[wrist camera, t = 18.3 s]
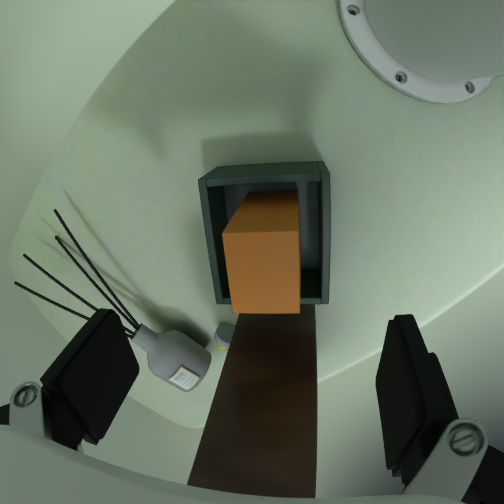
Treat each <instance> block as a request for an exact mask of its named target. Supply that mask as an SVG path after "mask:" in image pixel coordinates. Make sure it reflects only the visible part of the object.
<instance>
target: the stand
mask: <svg viewBox="0 0 504 504" xmlns="http://www.w3.org/2000/svg"><path fill="white" fill-rule="evenodd" d="M316 469H317V346H316V319H315V304H300V313H287V314H265V313H239V316H238V319H237V323H236V326H235V329H234V333H233V336H232V339H231V342H230V346H229V349H228V352H227V356H226V359H225V362H224V366H223V369H222V372H221V375H220V379H219V382H218V385H217V388H216V392H215V395H214V398H213V402H212V405H211V408H210V411H209V415H208V418H207V421H206V424H205V428H204V431H203V434H202V437H201V441H200V444H199V447H198V450H197V454H196V457H195V460H194V463H193V467H192V470H191V473H190V476H189V479H188V483H187V485H189V486H194V487H199V488H205V489H210V490H216V491H223V492H230V493H237V494H246V495H256V496H267V497H283V498H315V493H316Z"/></svg>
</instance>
